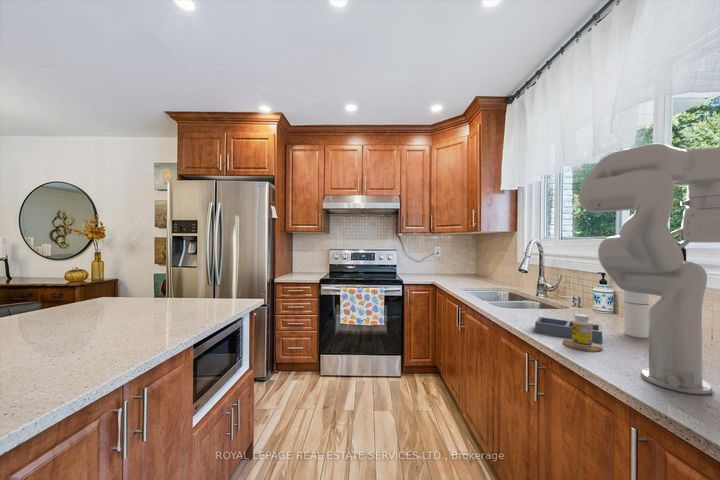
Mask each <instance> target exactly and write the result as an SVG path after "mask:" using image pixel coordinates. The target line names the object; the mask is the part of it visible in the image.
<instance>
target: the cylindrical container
mask: <svg viewBox="0 0 720 480" xmlns="http://www.w3.org/2000/svg"><path fill="white" fill-rule="evenodd" d="M623 297H624V298H623V300H624V301H623V305H624V308H623V313H624V314H623V315H624V317H623V318H624V323H623V324H624V334H625V335H626V336H629V337H634V338H641V339H642V338H643V339H644V338H645V339H649V333H648V312H649V310H650V294H643V293H635V292H629V291H625V290H623Z"/></svg>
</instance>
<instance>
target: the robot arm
mask: <svg viewBox="0 0 720 480" xmlns="http://www.w3.org/2000/svg"><path fill="white" fill-rule="evenodd" d="M675 187H686V188H687V189H686V190H687V191H686V192H687V193H686V196H687V199H686V200H683V201H680V202H679V203H680V206H681V207H683V206H684V207H686V209H684V211H683V214H682V219H681V220H682V221H681V228H679V229H676V230H674V231H671V230H670V228H669V226H668V224H669V221H670V216H671V213H672V209H673V205H674V198H675V189H676V188H675ZM578 203H579V205H580V206H581V208H582V209H583V210H584V211H587V212H590V213H608V212H623V211H634V213H633V214H632V215H630V216H629V217H628V218H627V219H626V220H625V221H624V223H622V225H621V227H620V228H619V231H618V235H614V236H613V235H612V236H608V237H606V238H605V239H603V240H602V241H601V242H600V244H599V247H598V250H597V256H598V260H599V264H600V266H601V267H602V268H603V270H604V271H605V272H606V273H607V275H608V276H609V277H610V278H611V280H612V281H613V282H614V284H616V286H617V288H619V289H621V290H622V291H624V290H625V291H629V292H635V293H643V294H649V295H653V296H658V297H660V298H659V300H658V301H656V302H655V303H654V304H653V305H652V306H651V307H649V312H648V333H649V338H648V368H647V367H646V368H643V369H641V370H640V375H641V377H642V378H643V379H644V380H646V381H647V382H649V383H651V384H653V385H656V386H658V387H662V388H664V389H668V390H672V391H676V392H679V393H686V394H692V395H709V394H711V393H713V386H712V385H711V384H710V383H708V382H707V381H705V380H703V326H702V325H703V324H702V323H703V322H702V321H703V319H702V317H703V316H702V315H703V313H702V312H703V303H704V298H705V297H704V296H705V292H706V289H707V288H706V287H707V285H708V284H707V283H708V275H707V271H706V270H705V268H703V267H702V266H701V265H699V264H697V263H695V262H692V261H688V260H687V249H686V248H685V247H686V246H688V245H689V244H690V243H720V147H707V148H705V147H701V148H679V147H675V146H671V145H669V144H665V143H657V142H656V143H647V144H643V145H639V146H635V147H634V146H633V147H630V148H626V149H625V148H624V149H621V150H616V151H613V152H609V153H608V154H606V155H605V156H603V157H602V158H601V159H600V160H599V161H598V162H597V163H596V164H595V166H594V167H593V168H592V170H591V171H590V173H589V174H588V175H587V176H586V178H585V180H584V182H583V183H582V185H581V186H580V188H579V193H578ZM677 235H680V239H681V241H680V242H678V241H677V240H676V239H675V236H677Z"/></svg>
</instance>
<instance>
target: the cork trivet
mask: <svg viewBox="0 0 720 480" xmlns="http://www.w3.org/2000/svg"><path fill="white" fill-rule="evenodd" d="M562 345H564V346H565V347H566V348H569V349H572V350H575V351H581V352H589V353H598V352H602V351H603V347H602V345H600V344H598V343H596V342H592V346H589V347H584V346H579V345H576V344H574V343H573V342H572V338H569V339H564V340H563V341H562Z"/></svg>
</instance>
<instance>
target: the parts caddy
mask: <svg viewBox="0 0 720 480" xmlns="http://www.w3.org/2000/svg"><path fill="white" fill-rule="evenodd" d="M534 323H535V326H534V330H535V331H534V332H535V333H540V334H545V335H551V336H556V337H564V338H569V339H572V320H566V319H559V318H550V317H542V316H539V317H538V319H536V321H535V322H534ZM592 326H593V330H592V343H601V344H603V325H602V324H597V323H596V324H595V323H592Z"/></svg>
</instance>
